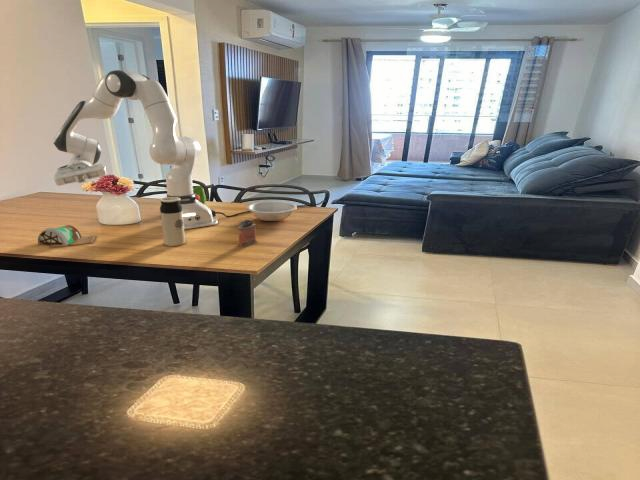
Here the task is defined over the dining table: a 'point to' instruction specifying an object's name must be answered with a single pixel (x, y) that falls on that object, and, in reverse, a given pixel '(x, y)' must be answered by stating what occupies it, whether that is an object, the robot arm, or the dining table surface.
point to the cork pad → (79, 241)
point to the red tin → (246, 232)
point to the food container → (59, 235)
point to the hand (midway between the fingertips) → (81, 180)
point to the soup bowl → (271, 210)
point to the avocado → (200, 194)
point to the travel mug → (172, 221)
